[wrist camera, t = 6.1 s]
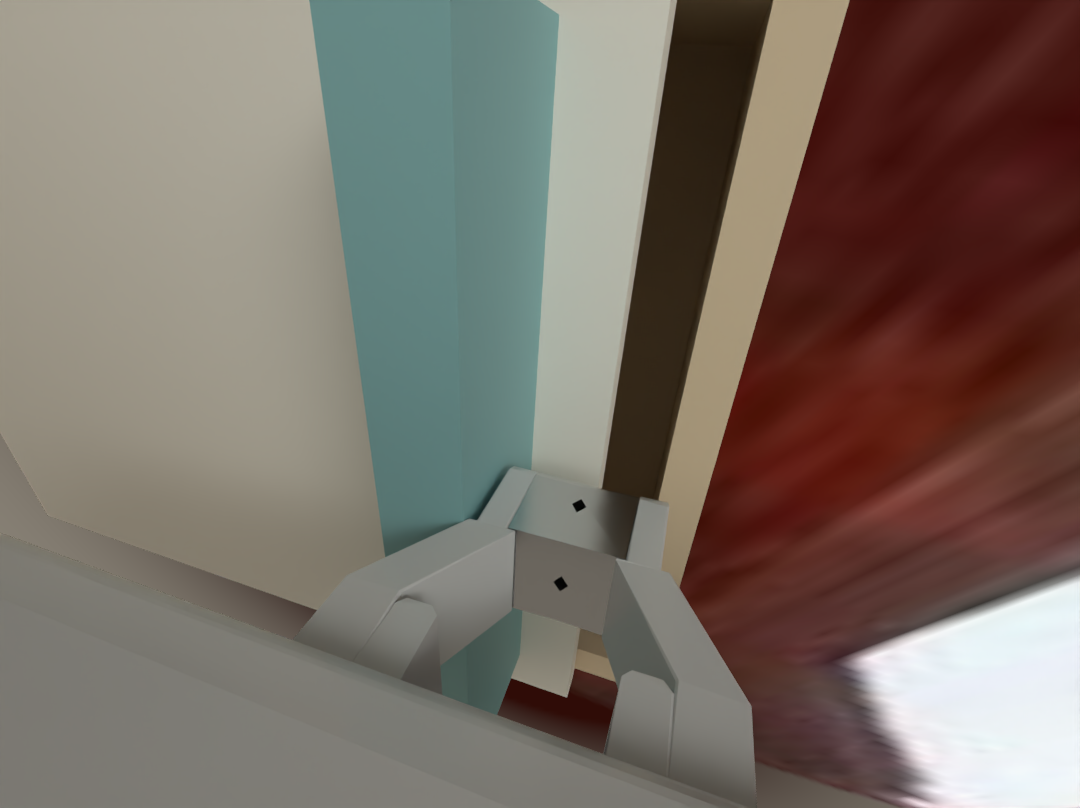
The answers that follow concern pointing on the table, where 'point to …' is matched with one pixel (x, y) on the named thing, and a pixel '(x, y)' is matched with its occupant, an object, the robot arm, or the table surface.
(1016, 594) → the table surface
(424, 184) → the lid
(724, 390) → the box
